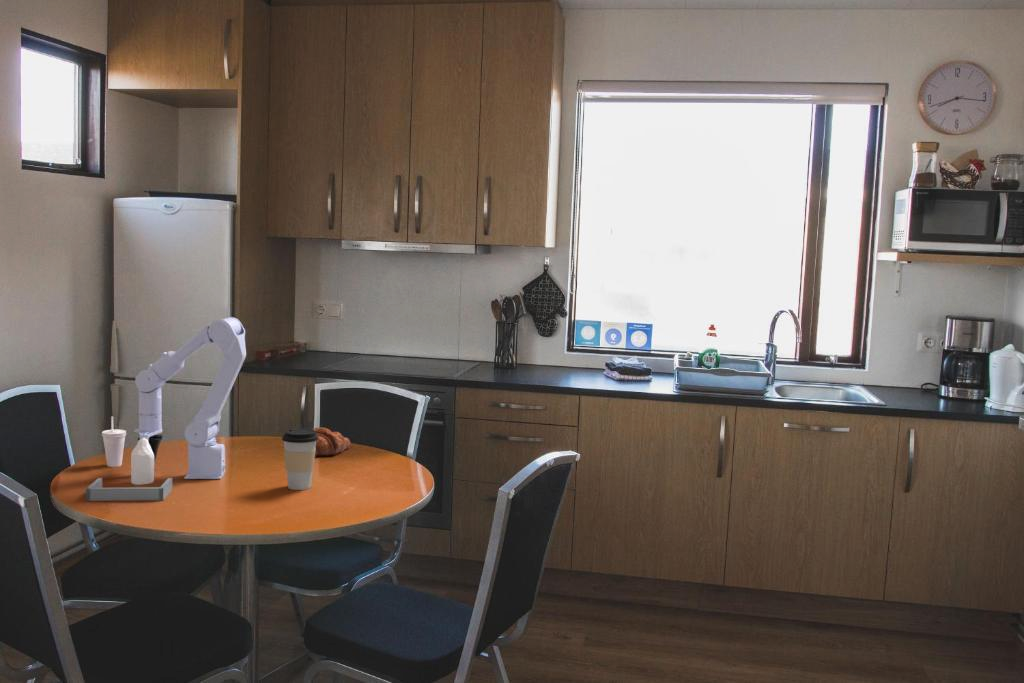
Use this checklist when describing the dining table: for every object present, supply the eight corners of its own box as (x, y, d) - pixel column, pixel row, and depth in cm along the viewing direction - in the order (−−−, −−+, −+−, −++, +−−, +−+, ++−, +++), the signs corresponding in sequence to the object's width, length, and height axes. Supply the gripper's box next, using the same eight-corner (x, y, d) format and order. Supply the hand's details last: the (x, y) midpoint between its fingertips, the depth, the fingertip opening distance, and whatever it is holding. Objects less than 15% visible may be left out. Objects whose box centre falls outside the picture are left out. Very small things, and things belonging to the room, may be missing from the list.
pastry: (302, 446, 287) (302, 421, 287) (351, 447, 289) (351, 422, 288) (295, 459, 271) (295, 432, 270) (347, 459, 272) (347, 433, 272)
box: (172, 489, 233) (172, 478, 233) (163, 500, 224) (163, 488, 223) (98, 489, 231) (98, 478, 230) (86, 500, 221) (85, 488, 220)
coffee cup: (279, 483, 242) (279, 428, 241) (315, 481, 246) (315, 427, 244) (283, 493, 233) (284, 435, 232) (320, 490, 237) (321, 434, 235)
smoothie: (96, 465, 254) (96, 416, 252) (116, 461, 259) (115, 413, 258) (112, 469, 251) (111, 419, 249) (131, 464, 256) (131, 416, 255)
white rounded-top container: (141, 434, 242) (159, 436, 240) (141, 478, 243) (159, 480, 241) (125, 438, 236) (143, 440, 234) (126, 483, 237) (143, 485, 236)
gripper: (141, 408, 252) (141, 456, 254) (127, 418, 238) (127, 469, 240) (168, 408, 253) (168, 456, 255) (155, 418, 239) (155, 469, 241)
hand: (150, 462), depth 247 cm, fingers closed
